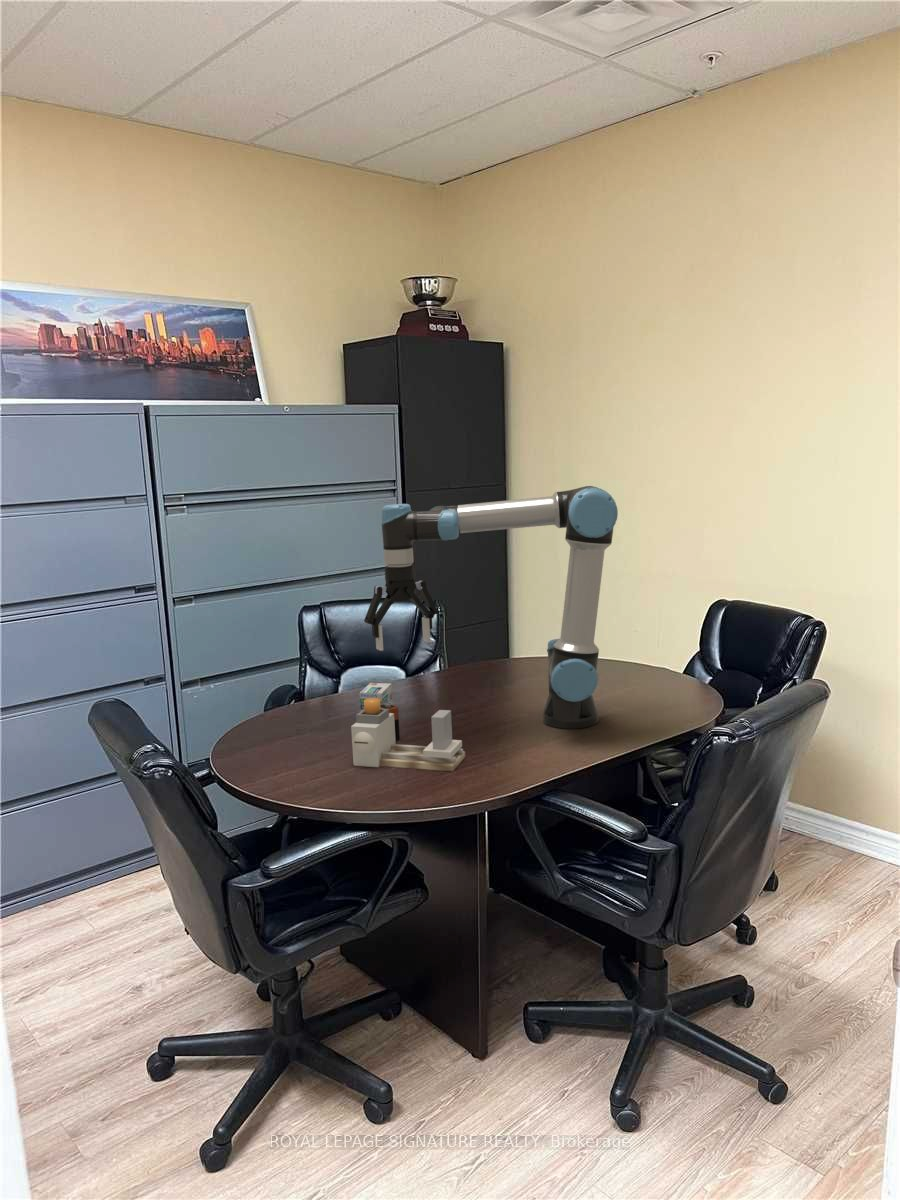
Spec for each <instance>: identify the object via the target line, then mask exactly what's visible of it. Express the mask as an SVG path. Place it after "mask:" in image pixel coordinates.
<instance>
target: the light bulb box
mask: <svg viewBox="0 0 900 1200" xmlns="http://www.w3.org/2000/svg"><path fill="white" fill-rule="evenodd" d="M368 698H378V699H380V701H384V702H385V703H392V705H394V701H393V700H394V699H393V698H394V697H393V684H392V683H385V682H384V683H381V682H379V683H378V682H377V683H376V682H370V683H368V684H367V685H366V687H364V688H363V689H362V690H361V691H360V692H359V702H360V703H359V705H360V712H361V711H362V710H364V700H365V699H368Z"/></svg>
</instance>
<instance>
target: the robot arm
mask: <svg viewBox="0 0 900 1200" xmlns="http://www.w3.org/2000/svg"><path fill="white" fill-rule="evenodd" d="M618 513H619V512H618V506H617V503H616V500H615V499H614V498H613V496H612V495H611V493H609V492H608V491H606V490H604V489H602V488H599V487H597V486H593V485H586V486H582V487H578V488H577V487H576V488H573V489H569V490H563V491H555V492H554V493H553V494H552V495H550V496H541V497H539V496H538V497H529V498H519V499H511V500H510V499H508V500H499V501H498V500H497V501H487V502H478V503H477V502H476V503H467V504H458V505H447V506H445V505H436V506H434V507H431V509H430V510H425V511H424V510H423V511H422V510H421V511H416V510H415V511H414V510H413V511H412V509H411V505H410V504H409V503H394V504H386V505H384V506H383V507H382V508H381V534H382V543H383V544H382V545H383V564H384V565H385V567H384V579H385V585H384V586H379V585H375V586H374V587H373V596H372V599H371V600H370V601H371V602H370V605H369V606H368V610H367V612H366V615H365V617H364V621H363V622H364V623H366V624H368V625H370V626H371V634H372V638H375V647H376V648H375V649H376V650H378V651H381V652H382V651H384V638H383V625H382V624H380V623H381V621H382V620H383V619H384V617H385V616H386V614H387V612H388V611H389V609H390V608H391V606H393V605H394V604H395V602H396V603H399V602H402V601H409V600H410V601H411V602H412V604H414V606H415V607H416V608H417V609H418V610H419V611H420V612H421V613H422V614H423V615H424V616H423V617H421V624H422V625H421V626H422V627H421V628H422V638H423V639H422V642H424V643H427V644H431V630H432V629H433V618H435V615H438V614H439V610H438V607H437V606H436V604H435V602H434V600H433V599H432V597H431V594H430V593H429V591H428V588H427V583H426V581H425V580H418V581H416V582H415V566H414V564H413V563H414V562H415V561H414V560H415V559H414V549H413V547H414V544H413V542H420V541H450V540H456V539H458V538H459V536H460V535H459V534H465V533H466V534H467V533H476V532H478V533H479V532H487V531H499V530H501V531H502V530H509V529H523V528H532V527H533V528H534V527H545V526H555V527H557V528H558V529H565V528H566V530H565V537H564V539H565V541H566V542H567V544H568V545H569V547H570V549H569V558H568V567H567V576H566V583H565V592H564V593H565V594H564V601H563V610H562V611H563V612H562V618H561V619H562V620H561V621H562V622H561V630H560V636H559V637H560V638H556V639H555V638H554V639H551V640H549V641H548V642H547V649H546V653H547V672H548V673H547V675H548V677H547V679H548V695H547V699H546V702H545V705H544V708H543V712H542V722H543V723H544V724H545V725H547V726H549V727H553V728H556V729H557V728H559V729H569V730H570V729H572V730H573V729H575V730H576V729H582V728H583V729H584V728H588V727H592V726H595V725H596V724H597V723H598V722H599V711H598V708H597V706H596V703H595V699H594V697H593V694H594V692H595V691H596V689H597V687H598V682H599V677H598V675H599V674H598V672H597V670H598V664H599V663H598V660H599V652H600V649H599V647H598V646H597V645H596V644H595V635H596V626H597V618H598V612H599V611H598V608H599V602H600V592H601V586H602V585H601V583H602V576H603V567H604V559H605V551H606V550H607V548H609V547H610V546H611V545H612V542H613V534H614V527H615V525H616V523H617V520H618V517H619V515H618ZM416 589H417V590H418V591H419V593H420V595H421V597H422V598H423V600H424V603H425V604H426V605H425V604H424V603H423V602H422V601H421V600H420V599H419V597H418V596H417V595H416V594H415V592H414V591H415V590H416ZM385 593H386V596H385V598H384V599H383V602H382V604H381V605H380V603H381V601H382V597H383V595H384V594H385ZM379 606H380V607H379Z"/></svg>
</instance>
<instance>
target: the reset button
mask: <svg viewBox="0 0 900 1200" xmlns="http://www.w3.org/2000/svg"><path fill="white" fill-rule="evenodd" d="M364 712H365V714H377V713H380V712H381V709H380V699H378V698H368V699H365V700H364Z"/></svg>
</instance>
